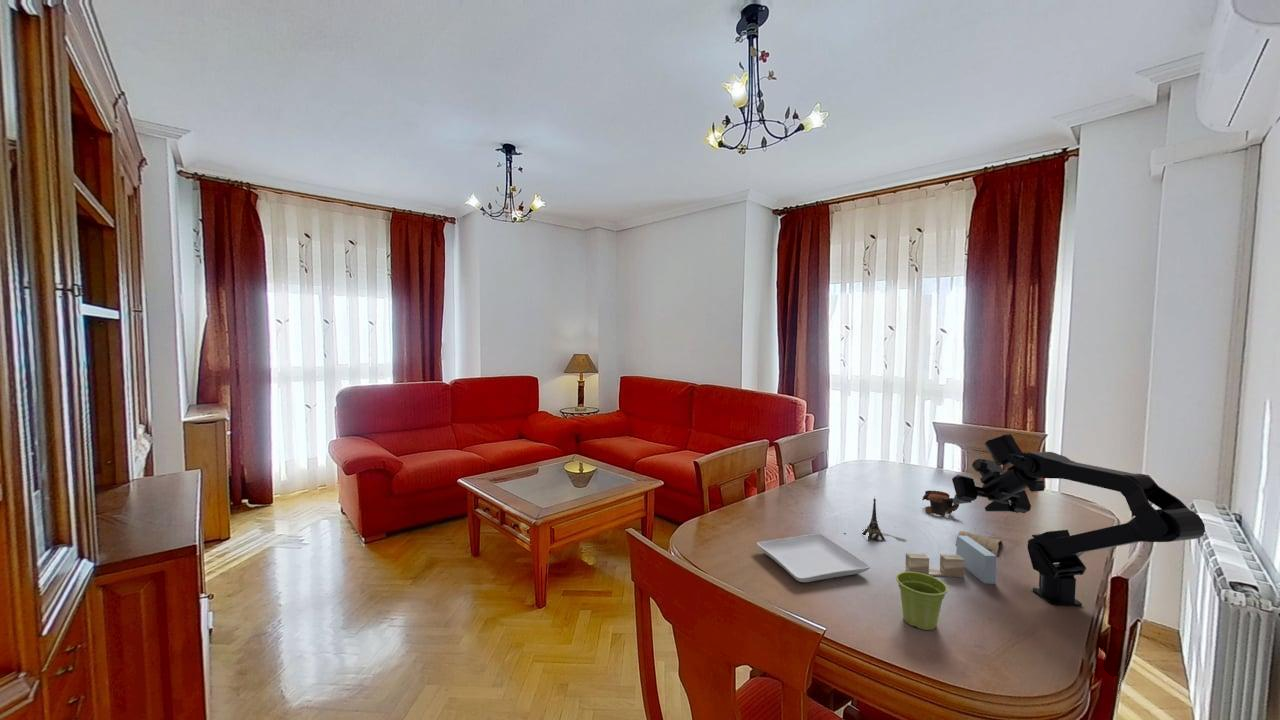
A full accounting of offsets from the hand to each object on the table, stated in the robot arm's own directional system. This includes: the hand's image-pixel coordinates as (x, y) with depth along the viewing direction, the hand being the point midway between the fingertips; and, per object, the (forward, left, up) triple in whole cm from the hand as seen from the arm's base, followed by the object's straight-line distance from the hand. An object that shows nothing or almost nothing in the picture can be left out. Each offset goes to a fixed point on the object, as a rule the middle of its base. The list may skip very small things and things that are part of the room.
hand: (969, 506), depth 135 cm
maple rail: (-13, +15, -13) cm, 24 cm away
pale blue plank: (-11, +4, -13) cm, 18 cm away
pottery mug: (+32, -9, -14) cm, 36 cm away
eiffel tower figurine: (+9, +21, -14) cm, 27 cm away
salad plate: (-10, +45, -14) cm, 49 cm away
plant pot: (-35, +29, -14) cm, 48 cm away
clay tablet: (+6, -7, -14) cm, 17 cm away
